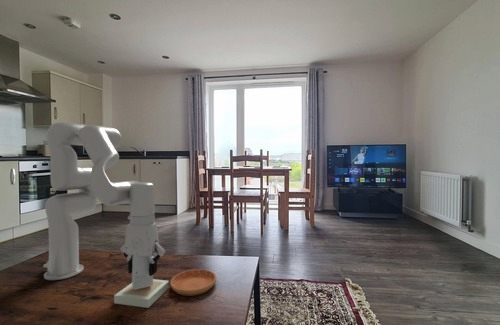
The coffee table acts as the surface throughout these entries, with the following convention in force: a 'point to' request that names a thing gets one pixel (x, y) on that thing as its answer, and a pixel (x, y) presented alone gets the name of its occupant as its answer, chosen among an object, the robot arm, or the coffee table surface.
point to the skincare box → (141, 272)
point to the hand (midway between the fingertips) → (142, 272)
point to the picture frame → (141, 294)
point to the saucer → (193, 282)
